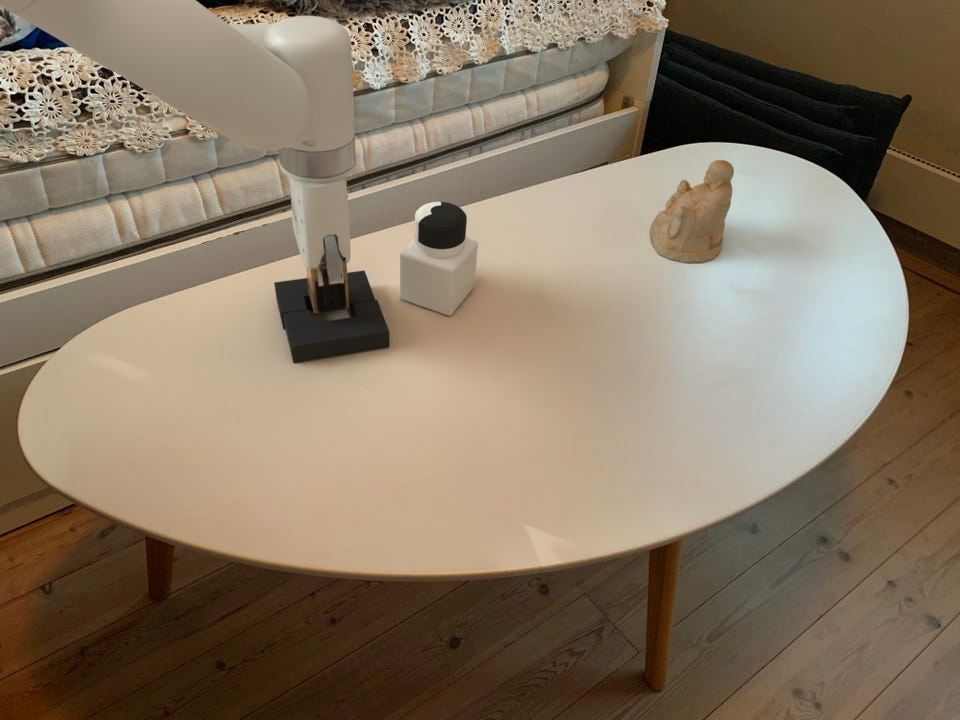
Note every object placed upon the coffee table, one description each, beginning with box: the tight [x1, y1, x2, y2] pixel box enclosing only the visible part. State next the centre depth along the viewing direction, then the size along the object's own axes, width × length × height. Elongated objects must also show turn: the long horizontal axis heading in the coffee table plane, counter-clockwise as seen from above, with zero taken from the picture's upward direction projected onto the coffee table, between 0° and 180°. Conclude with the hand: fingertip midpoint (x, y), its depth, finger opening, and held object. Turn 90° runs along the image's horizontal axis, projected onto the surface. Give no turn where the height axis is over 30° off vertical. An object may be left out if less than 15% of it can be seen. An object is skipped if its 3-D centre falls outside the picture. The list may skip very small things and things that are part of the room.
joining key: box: [305, 255, 349, 314], centre depth 88 cm, size 4×4×6 cm
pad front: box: [283, 299, 390, 364], centre depth 89 cm, size 11×6×2 cm, turn 109°
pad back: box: [273, 269, 376, 330], centre depth 94 cm, size 11×6×2 cm, turn 109°
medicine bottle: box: [399, 201, 479, 317], centre depth 94 cm, size 7×7×12 cm
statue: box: [649, 159, 735, 264], centre depth 108 cm, size 12×14×10 cm
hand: (327, 295), depth 90 cm, fingers closed on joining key, 3 cm apart
